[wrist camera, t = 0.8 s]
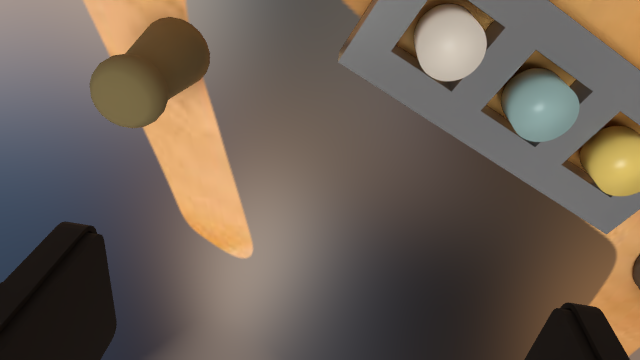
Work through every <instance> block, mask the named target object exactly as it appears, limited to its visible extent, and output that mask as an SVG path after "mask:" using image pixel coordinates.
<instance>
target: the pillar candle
mask: <svg viewBox="0 0 640 360" xmlns="http://www.w3.org/2000/svg"><path fill="white" fill-rule="evenodd" d="M633 279H634V281H635V283H636V285H637V286H638V287H639V289H640V256H639V257H638V259H637V260H636V263H635V266H634V271H633Z"/></svg>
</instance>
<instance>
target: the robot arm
mask: <svg viewBox="0 0 640 360" xmlns="http://www.w3.org/2000/svg"><path fill="white" fill-rule="evenodd" d="M115 330H116V315H115V309H114V302H113V296H112V290H111V283H110V276H109V270H108V263H107V257H106V250H105V244H104V239H103V236H102V235H100V234H97V232H96V229H95V228H94V227H93V226H89V225H83V224H77V223H71V222H62V223H60V224H59V225H58V226H57V227H55V229H54V230H53V231H52V232H51V233H50V234H49V235H48V236H47V237H46V238H45V239H44V240H43V241H42V242H41V243H40V244H39V245H38V246H37V247H36V248H35V250H33V252H32V253H31V254H30V255H29V256H28V257H27V258H26V259H25V260H24V261H23V262H22V263H21V264H20V265H19V266H18V267H17V268H16V269H15V270H14V271H13V272H12V273H11V274H10V275H9V276H8V278H7V279H6V280H5V281H4V282H2V283H0V360H100V359H101V358H102V356H103V354H104V352H105V351H106V349H107V348H108V346H109V344H110V342H111V341H112V338H113V337H114V334H115ZM525 360H630V359H629V357H628V355H627V354H626V352H625V350H624V349H623V347H622V345H621V343H620V342H619V340H618V338H617V336H616V335H615V333H614V331H613V329H612V328H611V326H610V324H609V322H608V321H607V319H606V317H605V315H604V314H603V312H602V311H601V310H600V309H599V308H597V307H592V306H586V305H579V304H574V303H565V304H563V305H562V307H561V308H556V309H554V310H553V312H552V313H551V315H550V317H549V318H548V320H547V322H546V323H545V325H544V327H543V328H542V330H541V332H540V334H539V335H538V337H537V339H536V341H535V342H534V344H533V346H532V347H531V349H530V351H529V353H528V354H527V356H526V358H525Z"/></svg>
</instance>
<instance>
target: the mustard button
mask: <svg viewBox="0 0 640 360" xmlns="http://www.w3.org/2000/svg"><path fill="white" fill-rule="evenodd" d="M580 162H581V164H582V166H583V167H584V169H585V170H586V171H587V172H588V174H589V175H590V176H591V178H592V179H593V180H594V182H595V183H596V184H597V185H598V187H599V188H600V189H601V190H602V191H603V192H605V193H606V194H609V195H612V196H629V195H633V194H636V193H638V192H640V135H639V134H638V133H637V132H635V131H634V130H633V129H631V128H629V127H625V126H611V127H607V128H604V129H602V130H600V131H598V132H597V133H596V134H594V135H593V136H592V137H591V138H590V139H589V140H588V141H587V142H586V143H585V144H584V145H583V146H582V149H581V152H580Z"/></svg>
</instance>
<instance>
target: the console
mask: <svg viewBox="0 0 640 360" xmlns="http://www.w3.org/2000/svg"><path fill="white" fill-rule="evenodd" d="M468 1H470V2H471V3H472V4H474V5H475V6H477V7H478V8H479V9H481V10H482V11H483V12H485V13H486V14H488V15H489V16H490V17H492V18H493V19H494V21H493V22H492V24H491V25H490V26H489V27H488V29H487V30H486V31H485V35H486V41H487V47H486V52H485V55H484V58H483V60H482V62H481V63H480V65H479V66H478V67H477V68H476V69H475V70H474V71H473V72H472V73H471V74H469V75H468V76H466V77H464V78H462V79H459V80H455V81H440V80H437V79H434V78H432V77H431V76H429V75H428V74H427V73H426V72H425V71H424V70H423V69H422V67H421V65H420V63H419V60H418V59H416V58H415V57H413V56H412V55H410V54H409V53H407V52H406V51H404V50H403V49H401V48H400V47H398V46H397V45H396V43H397V42H398V41H399V39H400V38H401V36H402V35H403V34H404V32H405V31H406V30H407V28H408V27H409V25H410V24H411V23H412V21H413V20H414V18H415V17H416V16H417V14H418V13H419V11H420V10H421V9H422V7H423V6H424V4H425V3H426V2H427V0H372V2H371V3H370V5H369V7H368V8H367V10H366V11H365V13H364V14H363V16H362V17H361V19H360V21H359V22H358V24H357V25H356V27H355V28H354V30H353V31H352V33H351V34H350V36H349V37H348V39H347V41H346V42H345V44H344V45H343V47H342V48H341V50H340V52H339V57H338V63H340V64H341V65H343V66H344V67H346V68H347V69H349V70H351V71H352V72H354V73H355V74H357V75H359V76H360V77H361V78H363V79H365V80H366V81H368V82H370V83H371V84H372V85H374V86H376V87H377V88H379V89H380V90H382V91H384V92H385V93H387V94H388V95H390V96H391V97H393V98H394V99H396V100H397V101H399V102H401V103H402V104H404V105H405V106H407V107H408V108H410V109H412V110H413V111H415V112H416V113H418V114H420V115H421V116H422V117H424V118H426V119H427V120H429V121H430V122H432V123H434V124H435V125H437V126H438V127H440V128H441V129H443V130H444V131H446V132H447V133H449V134H451V135H452V136H454V137H455V138H457V139H458V140H460V141H462V142H463V143H465V144H466V145H468V146H469V147H471V148H472V149H474V150H476V151H477V152H479V153H480V154H482V155H483V156H485V157H487V158H488V159H490V160H491V161H493V162H494V163H496V164H497V165H499V166H501V167H502V168H504V169H505V170H507V171H509V172H510V173H512V174H513V175H515V176H516V177H518V178H519V179H521V180H522V181H524V182H526V183H527V184H529V185H530V186H532V187H534V188H535V189H537V190H538V191H540V192H541V193H543V194H544V195H546V196H547V197H549V198H551V199H552V200H554V201H555V202H557V203H559V204H560V205H562V206H563V207H565V208H566V209H568V210H569V211H571V212H572V213H574V214H576V215H577V216H579V217H580V218H582V219H583V220H585V221H587V222H588V223H590V224H591V225H593V226H594V227H596V228H597V229H599V230H601V231H602V232H604V233H605V234H608V233H609V232H610V231H612V230H613V229H614V228H616V227H617V226H618V225H620V224H621V223H622V222H623V221H625V220H626V219H627V218H629V217H630V216H631V215H633V214H634V213H635V212H637V211H638V210H639V209H640V192H638V193H636V194H633V195H629V196H612V195H609V194H606V193H605V192H603V191H602V190H601V189H600V188H599V187H598V185H597V184H596V183H595V182H594V180H593V179H592V178H591V176H590V175H589V174H588V173H586V172H585V171H583V170H582V169H580V168H579V167H577V166H576V165H574V164H573V163H571V162H570V161H568V160H567V159H568V158H569V157H570V156H571V155H572V154H573V153H575V152H576V151H577V150H578V149H579V148H580V147H581V146H582V145H583V144H585V143H586V142H587V141H588V140H589V139H590V138H591V137H592V136H593V135H594V134H596V133H597V132H598V131H599V130H600V129H601V128H602V127H603V126H604V125H606V124H607V123H608V122H609V121H610V120H611V119H612V118H613V117H614V116H615V115H617V114H618V113H619V112H620V111H621V112H622V113H623V114H625V115H626V116H628V117H629V118H630V119H632V120H633V121H634V122H636V123H637V124H639V125H640V70H639V69H637V68H636V67H635V66H633V65H632V64H631V63H629V62H628V61H627V60H626V59H624V58H623V57H622V56H620V55H619V54H618V53H616V52H615V51H614V50H613V49H611V48H610V47H609V46H607V45H606V44H605V43H603V42H602V41H601V40H599V39H598V38H597V37H596V36H594V35H593V34H592V33H590V32H589V31H588V30H586V29H585V28H584V27H582V26H581V25H580V24H579V23H577V22H576V21H575V20H573V19H572V18H571V17H569V16H568V15H567V14H566V13H564V12H563V11H562V10H560V9H559V8H558V7H556V6H555V5H554V4H552V3H551V2H550V1H549V0H468ZM535 50H537V51H538V52H540V53H541V54H542V55H544V56H545V57H547V58H548V59H549V60H551V61H552V62H553V63H555V64H556V65H558V66H559V67H560V68H562V69H563V70H564V71H566V72H567V73H569V74H570V75H571V76H573V77H574V78H575V79H577V80H576V81H575V82H574V83H573V84H572V85H571V86H570V88H571V89H572V90H573V91H574V93H575V94H576V95H577V97H578V100H579V105H580V108H579V114H578V117H577V119H576V121H575V123H574V124H573V125H572V127H571V128H570V129H569V130H568V131H566V132H565V133H564V134H562V135H561V136H559V137H557V138H555V139H552V140H549V141H545V142H533V141H529V140H526V139H524V138H522V137H521V136H519V135H518V134H517V133H516V131H515V130H514V128H513V126H512V125H511V123H510V121H509V120H507V119H506V118H504V117H503V116H501V115H500V114H498V113H497V112H495V111H494V110H492V109H491V108H489V107H488V106H486V104H487V103H488V102H489V101H490V100H491V99H492V98H493V97H494V95H495V94H496V93H497V92H498V91H499V90H500V89H501V88H502V87H503V85H504V84H505V83H506V82H507V81H508V80H509V79H510V78H511V77H512V76H513V74H514V73H515V72H516V71H517V70H518V69H519V68H520V67H521V66H522V64H523V63H524V62H525V61H526V60H527V59H528V58H529V57H530V56H531V55H532V53H533V52H534V51H535Z"/></svg>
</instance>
